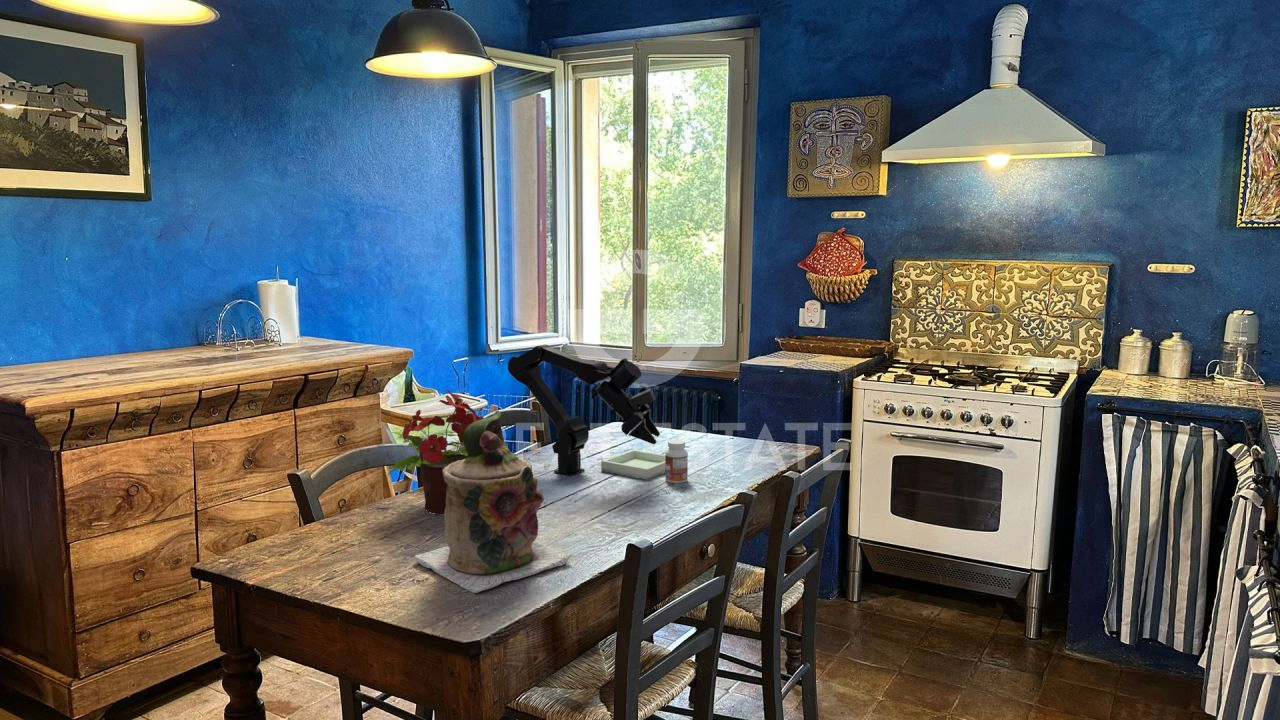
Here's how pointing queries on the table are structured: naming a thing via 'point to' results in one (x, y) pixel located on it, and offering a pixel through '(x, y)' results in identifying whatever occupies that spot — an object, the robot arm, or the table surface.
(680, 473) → the pill bottle
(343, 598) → the table surface
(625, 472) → the tray
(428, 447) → the potted plant
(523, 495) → the cookie jar
